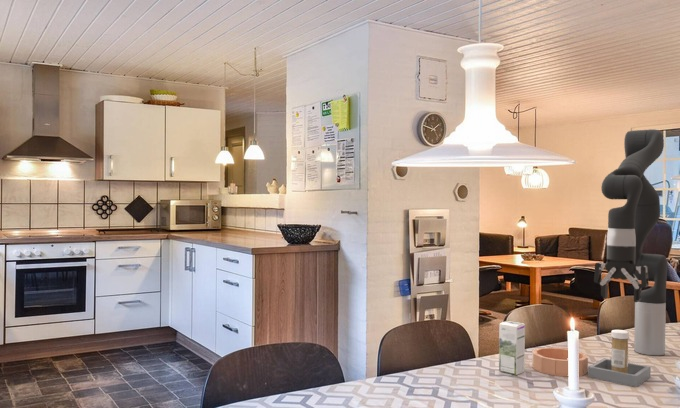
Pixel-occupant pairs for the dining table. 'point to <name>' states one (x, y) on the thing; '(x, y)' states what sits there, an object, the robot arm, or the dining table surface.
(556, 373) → the bowl
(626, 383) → the gray square frame
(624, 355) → the sprinkles bottle
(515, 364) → the syrup box
